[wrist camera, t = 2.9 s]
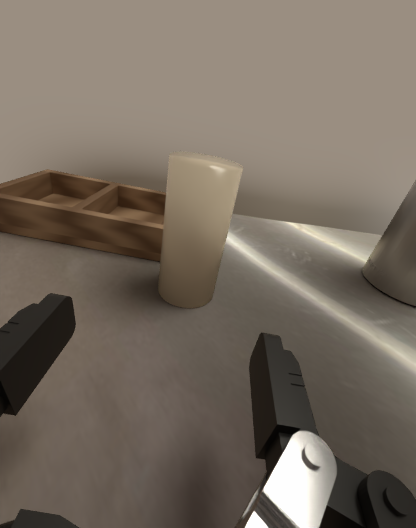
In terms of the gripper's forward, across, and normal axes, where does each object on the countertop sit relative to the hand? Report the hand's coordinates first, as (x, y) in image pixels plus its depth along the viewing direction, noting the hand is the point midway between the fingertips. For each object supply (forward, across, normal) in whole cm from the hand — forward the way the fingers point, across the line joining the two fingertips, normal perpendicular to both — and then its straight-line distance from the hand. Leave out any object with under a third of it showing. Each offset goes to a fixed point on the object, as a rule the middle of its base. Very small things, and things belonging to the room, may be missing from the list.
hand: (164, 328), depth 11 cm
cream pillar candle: (+12, 0, +7) cm, 14 cm away
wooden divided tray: (+22, +13, +7) cm, 26 cm away
